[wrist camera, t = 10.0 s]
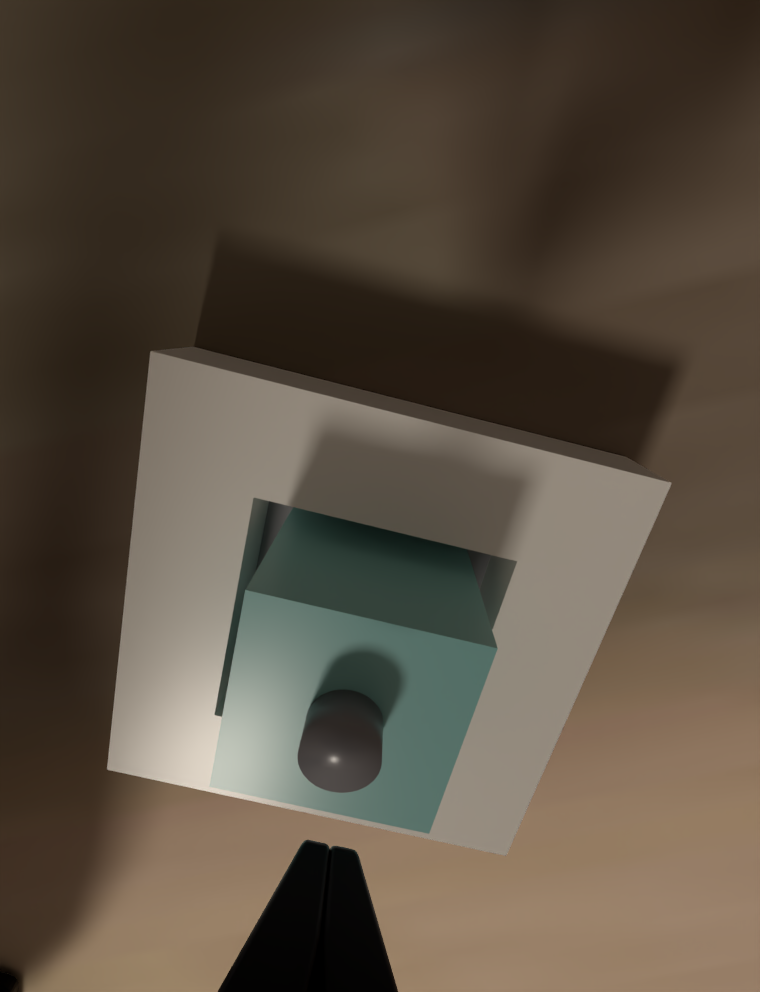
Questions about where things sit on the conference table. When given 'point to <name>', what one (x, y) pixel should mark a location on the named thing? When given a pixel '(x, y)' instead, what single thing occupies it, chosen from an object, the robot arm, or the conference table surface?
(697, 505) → the conference table surface
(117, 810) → the conference table surface
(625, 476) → the socket plate
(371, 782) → the plug
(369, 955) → the robot arm
